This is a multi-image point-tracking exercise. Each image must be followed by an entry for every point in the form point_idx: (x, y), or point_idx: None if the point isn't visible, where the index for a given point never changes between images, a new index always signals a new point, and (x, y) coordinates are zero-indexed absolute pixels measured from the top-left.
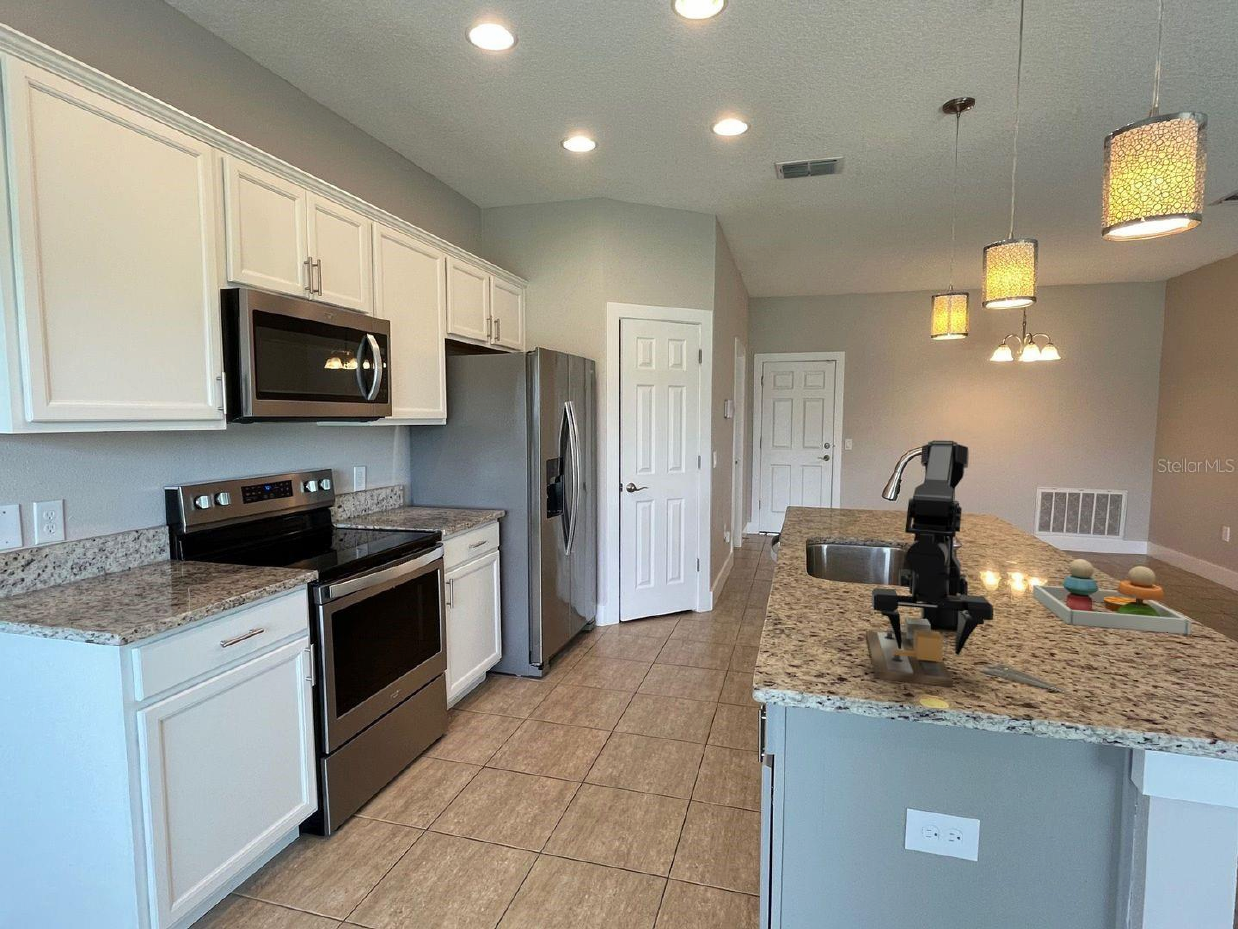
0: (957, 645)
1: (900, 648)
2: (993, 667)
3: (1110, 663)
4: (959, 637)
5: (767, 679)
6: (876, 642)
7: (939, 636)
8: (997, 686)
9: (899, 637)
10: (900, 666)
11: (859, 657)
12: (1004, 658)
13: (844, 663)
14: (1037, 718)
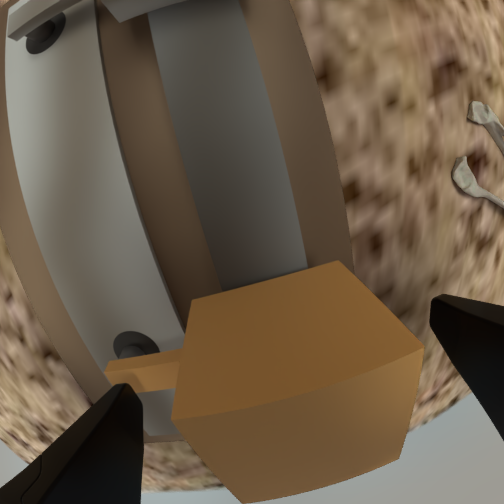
0: (460, 368)
1: (140, 408)
2: (481, 122)
3: None
4: (493, 403)
5: (20, 457)
6: (2, 127)
7: (394, 436)
8: (467, 289)
9: (132, 480)
10: None
11: (11, 282)
12: (478, 18)
13: (18, 358)
14: (462, 398)
